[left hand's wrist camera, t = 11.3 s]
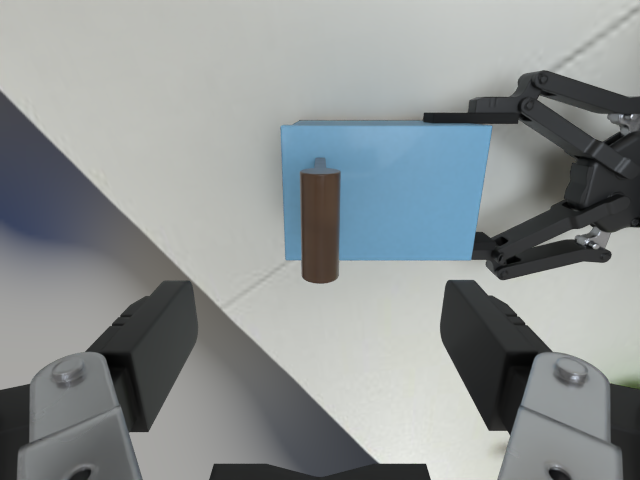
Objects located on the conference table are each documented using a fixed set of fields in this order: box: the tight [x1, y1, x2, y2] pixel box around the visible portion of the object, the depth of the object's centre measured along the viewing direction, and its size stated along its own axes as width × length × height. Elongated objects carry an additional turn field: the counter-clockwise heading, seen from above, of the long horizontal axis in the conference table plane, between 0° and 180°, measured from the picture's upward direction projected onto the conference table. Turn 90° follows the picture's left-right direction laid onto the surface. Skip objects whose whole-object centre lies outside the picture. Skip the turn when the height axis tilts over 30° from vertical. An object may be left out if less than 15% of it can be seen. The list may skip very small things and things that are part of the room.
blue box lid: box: [281, 125, 492, 283], centre depth 22 cm, size 14×10×9 cm
